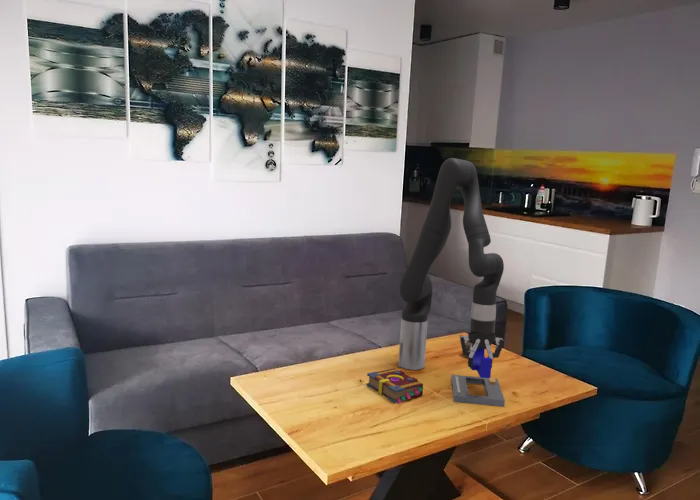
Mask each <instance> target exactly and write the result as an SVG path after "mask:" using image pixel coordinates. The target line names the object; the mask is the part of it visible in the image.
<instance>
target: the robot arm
mask: <svg viewBox="0 0 700 500" xmlns="http://www.w3.org/2000/svg"><path fill="white" fill-rule="evenodd" d="M435 182H436V183H435V187H434V190H433V195H432V198H431V202H430V204H429V207H428V211H427V213H426V215H425V216H426V217H425V219H424V221H423V224H422V227H421V230H420V231H419V234H418V235H419V236H418V238H417V242H416V244H415V247H414V250H413V254H412V256H411V259H410V261H409V263H408V266H407V268H406V270H405V272H404V274H403V276H402V278H401V280H400V284H399V286H398V288H399V289H398V290H399V295H400V297H401V299H402V300H403V301H404V302H406V305H405V306H404V308H403V309H402V310H401V315H400V317H401V319H400V333H399V334H400V335H399V349H398V350H399V351H398V368H402V369H405V370H413V371H414V370H415V371H417V370H422V369H424V368H425V364H426V351H427V349H426V348H427V347H426V346H427V332H428V331H427V330H428V319H429V318H428V317H429V314H430V311H431V310H432V309H431V308H432V301H433V300H432V299H433V283H432V280H431V278H430V277H429V275H428V273H429V270H430V268H431V267H432V265H433V264H434V262H435V261H436V259H437V258H438V257H439V255H440V254H441V252H442V251H443V250H444V248H445V245H446V244H447V240H448V238H449V237H450V232H451V230H452V216H451V208H450V207H451V201H452V198H453V196H454V193H455V190H456V189H459V190H460V193H461V194H462V198H463V204H464V209H463V214H462V225H463V231H464V234H465V237H466V241H467V243H468V248H467V249H468V267H469V270H470V271H471V273H472V275H474V276H475V277H478V278H482V280H481V281H480V282H478V283H476V284H475V285H474V286H473V291H472V292H473V293H472V304H471V308H470V322H469V323H470V325H469V332H468V334H467V335H459V341H460V342H459V343H460V345H461V350H462V355H463V356H464V355H465V356H464V357H466V356H468V357H467V367H468V368H469V369H470V370H472V368H473V355H474V353H475V351H476V349H479V348H483V349H484V350H486V352H487V355H488V356H487V357H486V358H491V359H492V361H493V359H496V358H497V359H498V358H499V357H500V355H501V353H502V352H501V351H502V348H503V346H504V344H505V341H504V339H503V337H498V336H497V337H496V334H495V332H496V331H495V328H496V316H497V305H496V303H497V302H496V301H497V293H498V292H497V291H498V289H499V286H500V283H501V279H502V276H503V274H504V269H505V267H504V266H505V265H504V260H503V257H502V256H501V255H500V254H498V253H496V252H490V253H485V251H484V250H485V247H488V246H490V244H491V242H492V239H491V235H490V231H489V227H488V225H487V223H486V219H485V216H484V212H483V207H482V199H481V198H482V197H481V193H480V186H479V185H480V184H479V179H478V172H477V168H476V166H475V165H474V163H473V162H471V161H469V160H465V159H461V158H456V157H451V158H448V159H445V161H443V163H442V164H441V166H440V169H439V172H438V175H437V179H436V181H435ZM467 340H470V341H471V343H472V345H471V347H470V350H469V351H466V346H465V343H467ZM494 342H495V345H496V346H495V349H494V352H492V349H491V346H492V345H493V344H494ZM492 368H493V362H492V363H491V369H492Z"/></svg>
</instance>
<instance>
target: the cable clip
mask: <svg viewBox="0 0 700 500" xmlns="http://www.w3.org/2000/svg"><path fill="white" fill-rule="evenodd" d="M491 363H492V364H493V360H492V359H491V358H487V357H485V349H483V348H479V349H476V351H475V353H474V355H473V368H472V369H471V371H477V373H478V377H480V378H491V374H492V368H491Z"/></svg>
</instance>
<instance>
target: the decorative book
mask: <svg viewBox="0 0 700 500" xmlns="http://www.w3.org/2000/svg"><path fill="white" fill-rule="evenodd" d="M366 376H367V377H368V383H366V386H367V387H369V388H370V389H372V390H373V391H376V392H377V393H378V395H380V396H384V397H385V398H386V399H387V400H389V401H390V402H392V403H393V404H397V403H398V405H401V404H403V402H405V401H407V400H411V399H414V398H418V397H423V393H424V392H423V391H424V383H422V382H421V381H419V380H418V378H415V377H414V376H413V377H411V376H409V375H407V374H406V373H405V371H403V370H401V369H400V370H399V369H397V368H394V367H393V368H389V369H385V370H379V371H372V372H367V373H366Z"/></svg>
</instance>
